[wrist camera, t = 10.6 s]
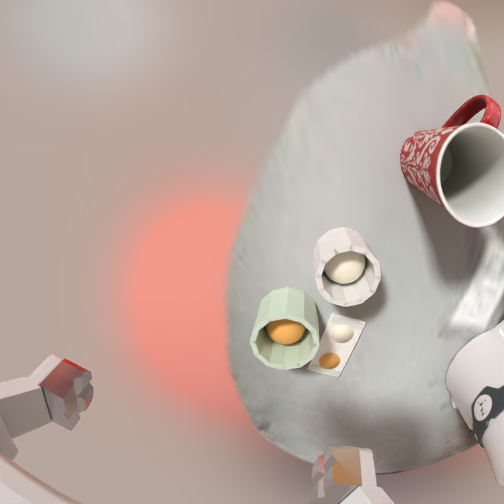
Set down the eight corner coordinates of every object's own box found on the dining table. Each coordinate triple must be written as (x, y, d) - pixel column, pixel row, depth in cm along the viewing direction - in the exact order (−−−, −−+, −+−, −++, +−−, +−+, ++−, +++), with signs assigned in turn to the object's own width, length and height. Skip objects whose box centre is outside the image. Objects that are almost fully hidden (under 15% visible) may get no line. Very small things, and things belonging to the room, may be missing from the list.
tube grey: (376, 236, 38) (389, 256, 31) (357, 286, 40) (366, 312, 34) (323, 220, 38) (328, 237, 32) (307, 271, 40) (307, 296, 34)
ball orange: (311, 304, 42) (310, 324, 37) (299, 334, 43) (297, 356, 39) (274, 293, 42) (269, 312, 37) (265, 324, 44) (258, 345, 39)
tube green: (325, 297, 41) (328, 325, 35) (306, 344, 44) (305, 375, 38) (267, 280, 42) (260, 306, 35) (252, 329, 44) (244, 359, 38)
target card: (365, 321, 41) (366, 323, 41) (338, 375, 45) (338, 377, 45) (331, 312, 42) (332, 314, 41) (307, 367, 45) (307, 370, 45)
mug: (439, 211, 35) (493, 246, 23) (380, 176, 35) (419, 196, 23) (478, 125, 31) (542, 127, 18) (421, 86, 31) (474, 65, 18)
